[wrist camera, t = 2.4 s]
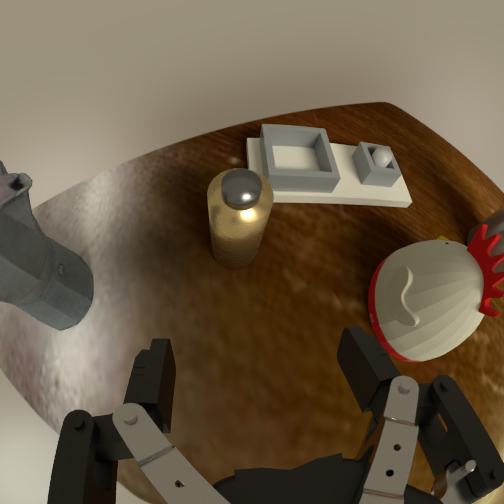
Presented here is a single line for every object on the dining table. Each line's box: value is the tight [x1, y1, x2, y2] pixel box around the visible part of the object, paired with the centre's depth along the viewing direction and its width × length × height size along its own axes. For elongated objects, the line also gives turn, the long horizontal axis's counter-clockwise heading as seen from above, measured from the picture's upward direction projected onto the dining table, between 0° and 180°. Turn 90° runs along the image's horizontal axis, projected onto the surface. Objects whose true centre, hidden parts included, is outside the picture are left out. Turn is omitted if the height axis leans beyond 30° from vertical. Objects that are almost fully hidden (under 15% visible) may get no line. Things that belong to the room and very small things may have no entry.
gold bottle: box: [207, 168, 274, 269], centre depth 23 cm, size 5×5×11 cm
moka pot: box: [0, 161, 93, 330], centre depth 15 cm, size 10×15×20 cm, turn 118°
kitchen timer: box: [368, 224, 504, 362], centre depth 21 cm, size 14×14×15 cm
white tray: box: [246, 124, 412, 208], centre depth 31 cm, size 22×9×6 cm, turn 94°
